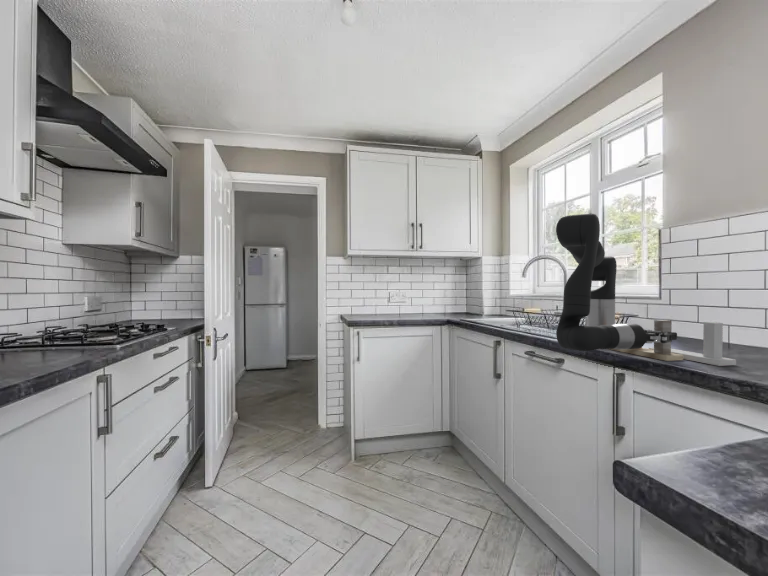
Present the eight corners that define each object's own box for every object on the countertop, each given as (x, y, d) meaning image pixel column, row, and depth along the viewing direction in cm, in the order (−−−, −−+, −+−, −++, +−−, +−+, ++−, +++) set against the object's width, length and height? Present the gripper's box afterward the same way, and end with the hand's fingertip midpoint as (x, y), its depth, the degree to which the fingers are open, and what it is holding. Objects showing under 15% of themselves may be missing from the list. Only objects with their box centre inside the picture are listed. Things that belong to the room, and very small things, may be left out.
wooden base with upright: (607, 348, 135) (607, 315, 135) (621, 348, 136) (622, 315, 136) (666, 360, 114) (666, 321, 113) (682, 360, 115) (683, 321, 115)
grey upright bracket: (648, 352, 128) (648, 317, 128) (663, 351, 130) (663, 317, 130) (719, 365, 107) (719, 324, 107) (736, 365, 108) (736, 323, 108)
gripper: (644, 326, 108) (693, 325, 112) (604, 321, 122) (650, 320, 126) (643, 353, 108) (693, 351, 112) (604, 345, 122) (649, 343, 126)
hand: (669, 335), depth 119 cm, fingers closed on wooden base with upright, 3 cm apart
